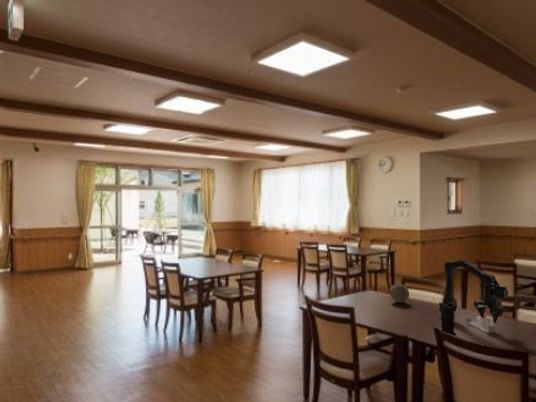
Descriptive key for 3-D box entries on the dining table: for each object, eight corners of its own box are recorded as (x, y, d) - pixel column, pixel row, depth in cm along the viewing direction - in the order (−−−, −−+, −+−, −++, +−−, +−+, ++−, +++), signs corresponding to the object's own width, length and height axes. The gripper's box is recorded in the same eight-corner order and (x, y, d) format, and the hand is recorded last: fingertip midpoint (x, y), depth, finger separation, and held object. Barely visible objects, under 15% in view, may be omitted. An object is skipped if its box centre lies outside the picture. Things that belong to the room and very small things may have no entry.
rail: (491, 333, 244) (491, 326, 244) (466, 323, 263) (466, 317, 263) (495, 333, 245) (495, 326, 245) (470, 323, 264) (470, 317, 264)
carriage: (487, 332, 245) (487, 319, 245) (480, 330, 250) (480, 317, 250) (495, 331, 247) (495, 318, 247) (488, 329, 252) (488, 316, 252)
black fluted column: (437, 336, 239) (437, 302, 239) (450, 336, 239) (450, 302, 239) (444, 341, 231) (444, 306, 231) (458, 340, 231) (458, 305, 231)
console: (482, 325, 261) (482, 318, 261) (476, 322, 266) (476, 316, 266) (488, 324, 262) (488, 318, 262) (482, 322, 267) (482, 316, 267)
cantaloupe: (393, 300, 326) (393, 281, 326) (411, 302, 318) (411, 283, 318) (387, 303, 314) (387, 284, 314) (405, 306, 306) (405, 286, 306)
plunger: (482, 320, 263) (482, 313, 263) (479, 319, 265) (479, 312, 265) (485, 320, 263) (485, 313, 263) (482, 319, 266) (482, 312, 266)
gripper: (512, 297, 242) (512, 324, 242) (487, 291, 259) (486, 315, 259) (497, 299, 238) (497, 325, 238) (472, 292, 256) (472, 316, 256)
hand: (488, 320), depth 248 cm, fingers open, 9 cm apart
